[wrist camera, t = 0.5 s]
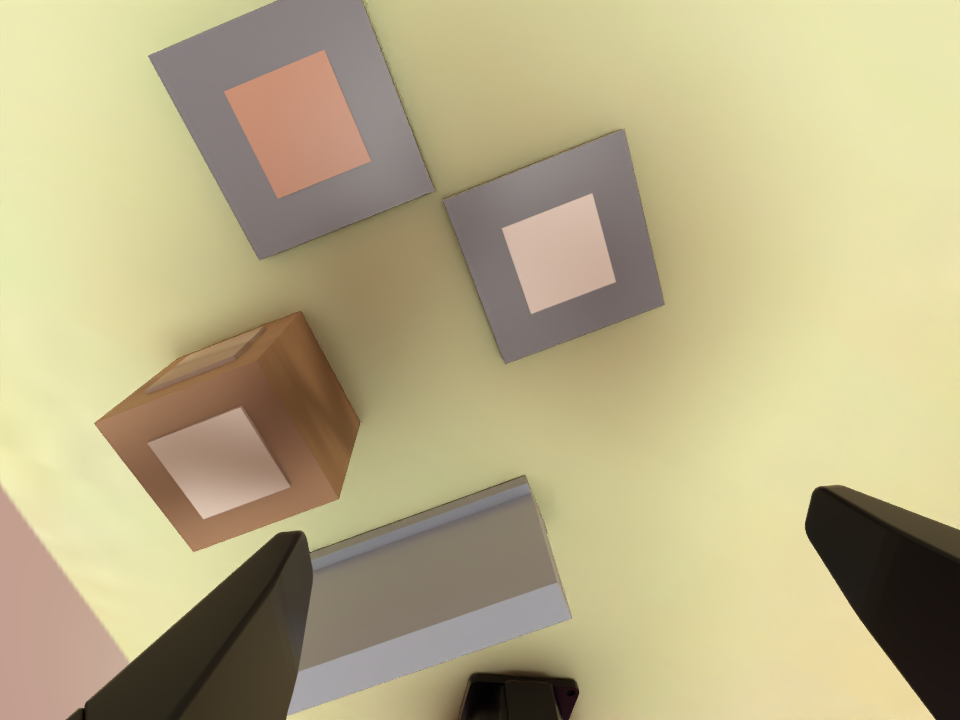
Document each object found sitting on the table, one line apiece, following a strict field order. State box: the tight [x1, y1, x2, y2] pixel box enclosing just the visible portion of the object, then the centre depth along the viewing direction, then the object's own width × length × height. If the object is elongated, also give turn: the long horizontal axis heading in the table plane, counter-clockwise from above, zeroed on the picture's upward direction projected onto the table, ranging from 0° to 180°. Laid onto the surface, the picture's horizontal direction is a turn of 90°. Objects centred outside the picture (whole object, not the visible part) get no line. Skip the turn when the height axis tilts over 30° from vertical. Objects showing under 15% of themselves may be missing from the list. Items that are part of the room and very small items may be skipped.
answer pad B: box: [148, 0, 435, 260], centre depth 17 cm, size 7×7×1 cm
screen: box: [287, 476, 572, 716], centre depth 22 cm, size 12×3×6 cm, turn 110°
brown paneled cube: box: [94, 311, 360, 552], centre depth 19 cm, size 6×6×6 cm
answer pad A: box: [443, 129, 665, 364], centre depth 20 cm, size 7×7×1 cm
